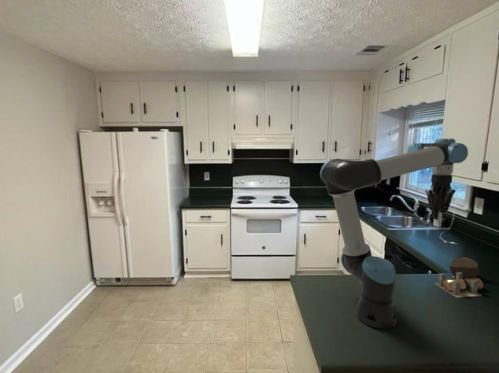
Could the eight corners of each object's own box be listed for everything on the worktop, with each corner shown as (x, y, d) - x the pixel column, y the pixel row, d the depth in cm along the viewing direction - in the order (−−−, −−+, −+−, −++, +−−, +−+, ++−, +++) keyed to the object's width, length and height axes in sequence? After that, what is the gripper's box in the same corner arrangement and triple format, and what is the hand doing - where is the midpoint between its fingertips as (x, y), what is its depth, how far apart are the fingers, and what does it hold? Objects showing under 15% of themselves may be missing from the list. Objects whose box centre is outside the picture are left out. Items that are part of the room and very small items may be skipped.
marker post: (452, 283, 136) (453, 277, 136) (449, 282, 138) (450, 276, 137) (455, 283, 136) (456, 277, 136) (452, 282, 138) (453, 275, 137)
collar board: (455, 299, 124) (457, 284, 123) (433, 285, 137) (435, 271, 136) (482, 297, 125) (483, 283, 124) (457, 283, 138) (459, 270, 137)
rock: (451, 271, 141) (445, 255, 148) (451, 282, 146) (446, 265, 153) (481, 270, 135) (474, 253, 142) (480, 281, 141) (473, 264, 148)
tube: (473, 287, 134) (472, 276, 134) (483, 290, 129) (482, 279, 129) (443, 288, 132) (442, 278, 132) (451, 292, 127) (451, 281, 127)
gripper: (434, 175, 117) (429, 229, 121) (462, 174, 119) (457, 227, 122) (422, 173, 125) (417, 224, 128) (448, 173, 126) (443, 223, 129)
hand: (437, 226), depth 125 cm, fingers closed
